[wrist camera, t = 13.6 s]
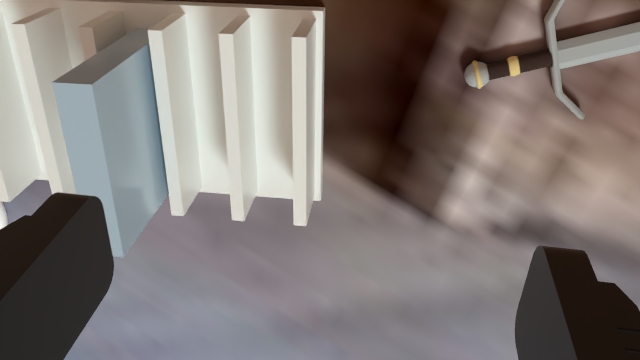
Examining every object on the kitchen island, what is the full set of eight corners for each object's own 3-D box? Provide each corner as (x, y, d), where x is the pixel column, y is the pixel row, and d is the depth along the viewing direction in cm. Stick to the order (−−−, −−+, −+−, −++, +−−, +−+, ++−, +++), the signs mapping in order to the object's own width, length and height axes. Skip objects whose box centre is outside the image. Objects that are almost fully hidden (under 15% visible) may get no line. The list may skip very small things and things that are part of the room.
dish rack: (-10, -7, 38) (-64, 11, 33) (325, 7, 35) (313, 28, 31) (35, 172, 44) (-6, 207, 40) (322, 193, 42) (312, 233, 37)
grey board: (136, 28, 37) (51, 82, 28) (167, 29, 36) (91, 84, 28) (156, 170, 41) (89, 254, 33) (183, 172, 41) (123, 257, 32)
